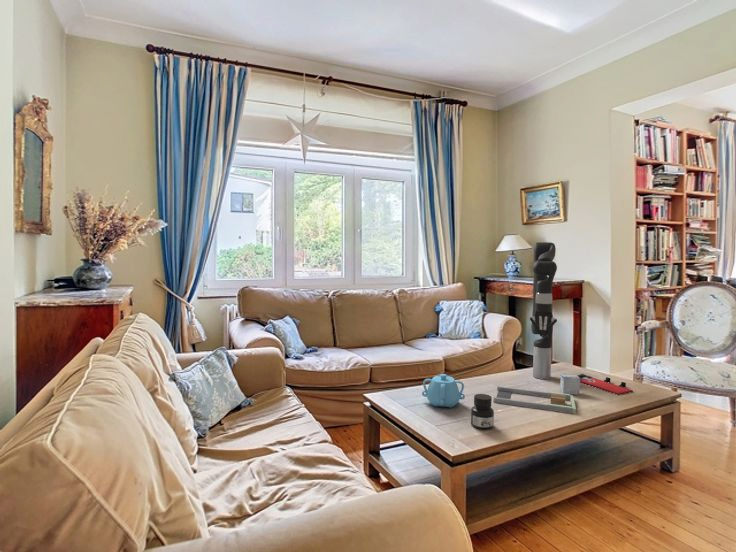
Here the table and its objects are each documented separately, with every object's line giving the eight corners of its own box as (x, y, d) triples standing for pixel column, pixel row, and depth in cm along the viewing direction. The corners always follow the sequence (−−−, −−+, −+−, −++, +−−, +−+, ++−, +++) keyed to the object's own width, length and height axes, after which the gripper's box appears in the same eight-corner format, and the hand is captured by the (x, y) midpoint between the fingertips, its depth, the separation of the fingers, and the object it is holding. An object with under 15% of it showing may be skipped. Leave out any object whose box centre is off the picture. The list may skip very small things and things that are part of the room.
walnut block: (550, 401, 196) (551, 393, 196) (565, 403, 193) (565, 395, 193) (550, 405, 190) (550, 397, 190) (565, 408, 188) (565, 399, 188)
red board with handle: (584, 375, 238) (566, 378, 231) (584, 370, 238) (566, 374, 231) (637, 391, 211) (618, 396, 204) (637, 386, 210) (618, 391, 204)
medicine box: (576, 391, 209) (576, 374, 208) (579, 394, 205) (580, 377, 204) (559, 391, 210) (560, 374, 209) (563, 394, 205) (563, 377, 205)
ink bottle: (472, 430, 164) (472, 400, 163) (468, 420, 173) (468, 392, 172) (497, 430, 164) (497, 400, 163) (491, 421, 172) (492, 393, 172)
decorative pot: (418, 400, 196) (418, 372, 195) (446, 395, 203) (446, 367, 203) (439, 412, 182) (439, 382, 181) (468, 406, 189) (468, 377, 188)
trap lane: (497, 390, 211) (497, 385, 211) (572, 399, 198) (573, 394, 198) (493, 402, 194) (493, 397, 194) (575, 413, 181) (575, 408, 181)
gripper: (558, 301, 203) (557, 336, 205) (529, 300, 209) (528, 334, 210) (558, 303, 197) (557, 340, 198) (528, 302, 202) (527, 337, 203)
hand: (542, 337), depth 204 cm, fingers closed
